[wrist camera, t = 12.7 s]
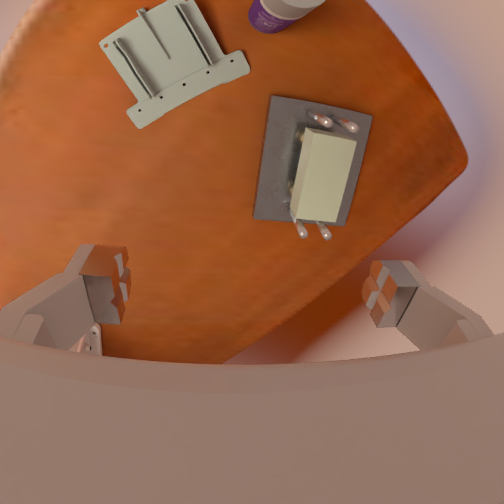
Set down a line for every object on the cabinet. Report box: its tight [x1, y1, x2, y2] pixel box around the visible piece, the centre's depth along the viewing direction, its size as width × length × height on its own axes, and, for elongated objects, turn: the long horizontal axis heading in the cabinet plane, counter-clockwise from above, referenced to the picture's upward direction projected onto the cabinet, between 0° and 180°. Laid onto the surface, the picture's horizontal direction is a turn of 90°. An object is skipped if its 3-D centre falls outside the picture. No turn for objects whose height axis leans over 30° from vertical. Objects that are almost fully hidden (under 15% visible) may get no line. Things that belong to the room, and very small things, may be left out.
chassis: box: [252, 95, 373, 240], centre depth 35 cm, size 16×13×8 cm
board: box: [290, 127, 357, 222], centre depth 33 cm, size 10×5×3 cm, turn 172°
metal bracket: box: [99, 0, 250, 129], centre depth 28 cm, size 14×6×15 cm
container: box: [248, 0, 326, 34], centre depth 21 cm, size 5×5×15 cm
